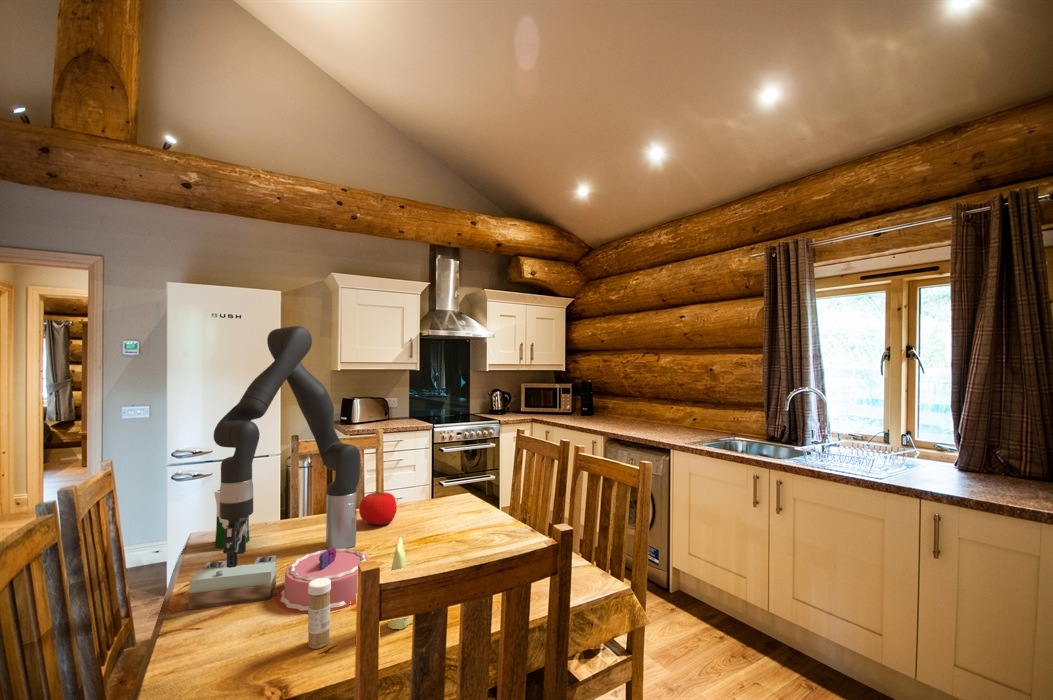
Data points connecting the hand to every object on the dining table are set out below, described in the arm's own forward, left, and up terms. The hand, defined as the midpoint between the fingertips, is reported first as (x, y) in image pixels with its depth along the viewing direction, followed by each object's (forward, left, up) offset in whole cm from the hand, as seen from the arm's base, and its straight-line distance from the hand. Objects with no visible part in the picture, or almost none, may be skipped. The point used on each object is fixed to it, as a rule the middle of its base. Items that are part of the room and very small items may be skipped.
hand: (236, 559), depth 126 cm
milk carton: (+10, -39, -10) cm, 42 cm away
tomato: (-36, -47, -10) cm, 60 cm away
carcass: (0, -1, -9) cm, 9 cm away
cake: (-22, +2, -10) cm, 25 cm away
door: (0, -2, -6) cm, 6 cm away
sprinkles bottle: (-23, +28, -10) cm, 37 cm away
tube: (-40, +25, -10) cm, 48 cm away
